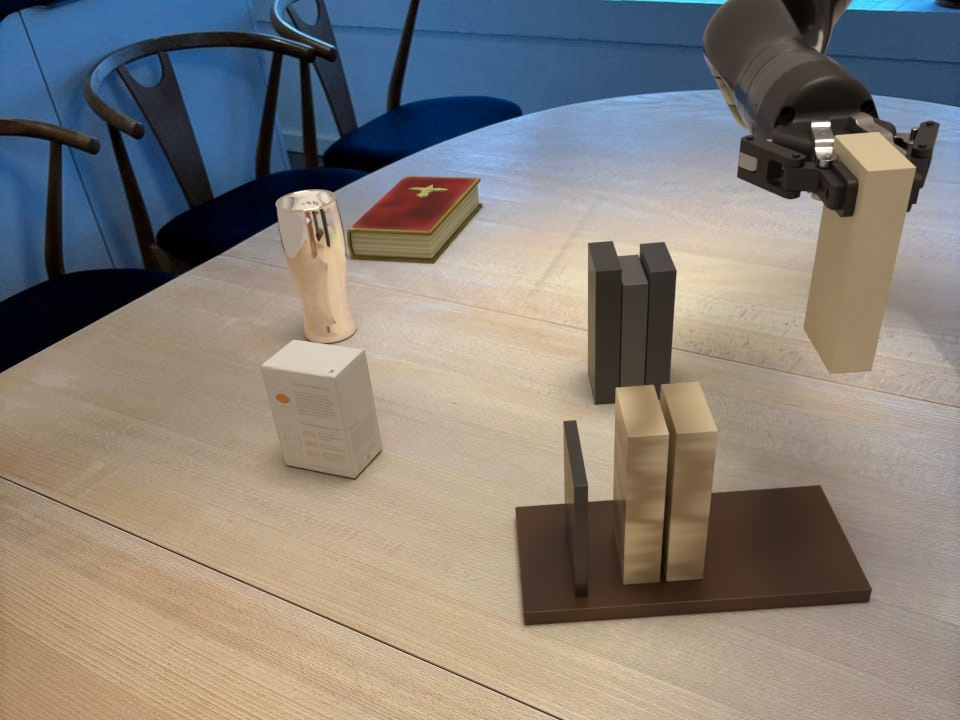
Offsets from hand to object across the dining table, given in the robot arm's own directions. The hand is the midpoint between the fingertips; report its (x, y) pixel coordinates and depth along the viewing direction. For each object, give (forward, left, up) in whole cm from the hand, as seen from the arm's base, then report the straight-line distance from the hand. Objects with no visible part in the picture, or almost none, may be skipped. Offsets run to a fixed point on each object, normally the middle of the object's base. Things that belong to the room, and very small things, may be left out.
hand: (879, 198), depth 59 cm
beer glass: (+43, -48, -28) cm, 70 cm away
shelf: (+10, -1, -28) cm, 29 cm away
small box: (+40, -20, -28) cm, 53 cm away
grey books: (+11, -30, -28) cm, 42 cm away
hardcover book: (+33, -78, -28) cm, 90 cm away
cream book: (0, -2, -11) cm, 11 cm away
